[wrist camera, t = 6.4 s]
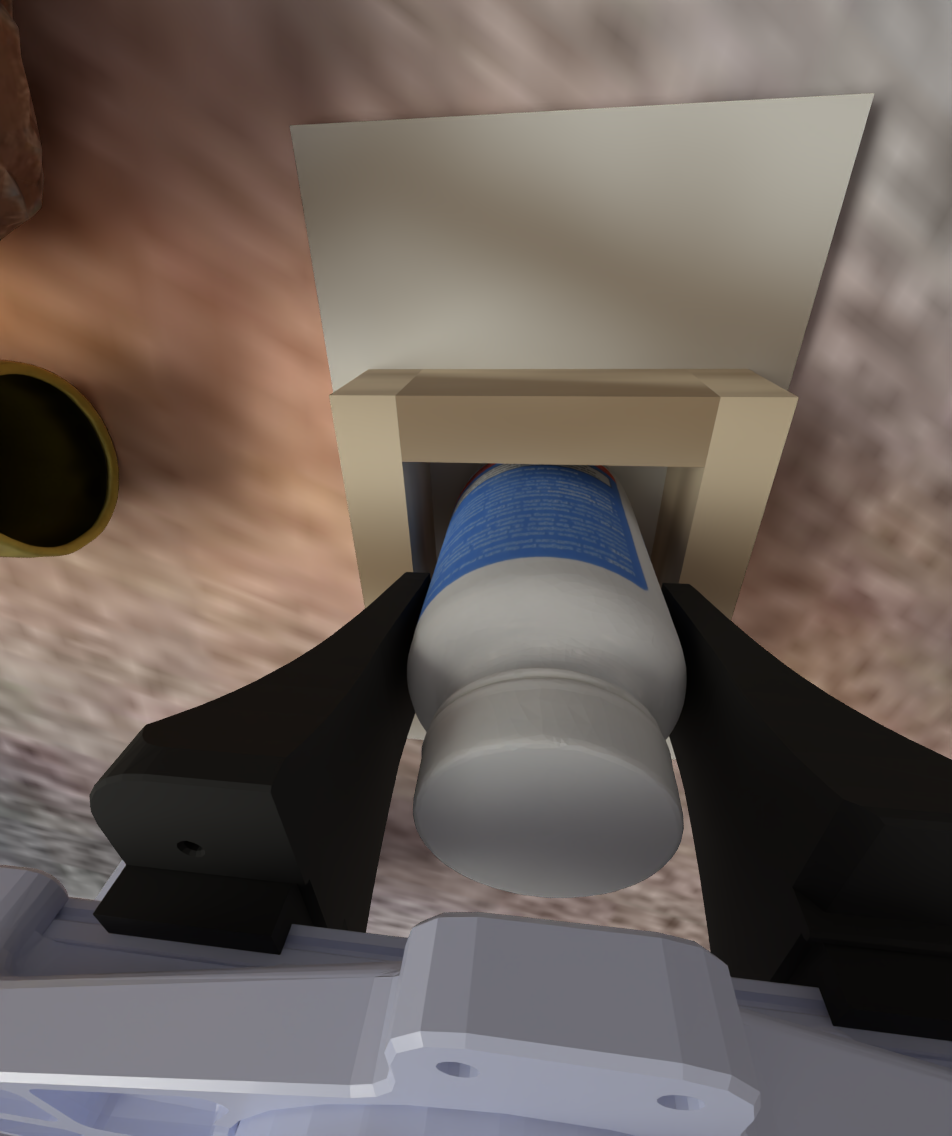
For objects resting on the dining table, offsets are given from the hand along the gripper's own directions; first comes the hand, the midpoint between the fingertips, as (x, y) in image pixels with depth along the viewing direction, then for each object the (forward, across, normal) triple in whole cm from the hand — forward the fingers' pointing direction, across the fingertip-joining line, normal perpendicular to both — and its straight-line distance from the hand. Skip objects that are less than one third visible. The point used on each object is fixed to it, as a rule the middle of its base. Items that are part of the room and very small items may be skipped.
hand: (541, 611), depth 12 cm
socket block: (+4, 0, 0) cm, 4 cm away
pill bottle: (+4, 0, 0) cm, 4 cm away
